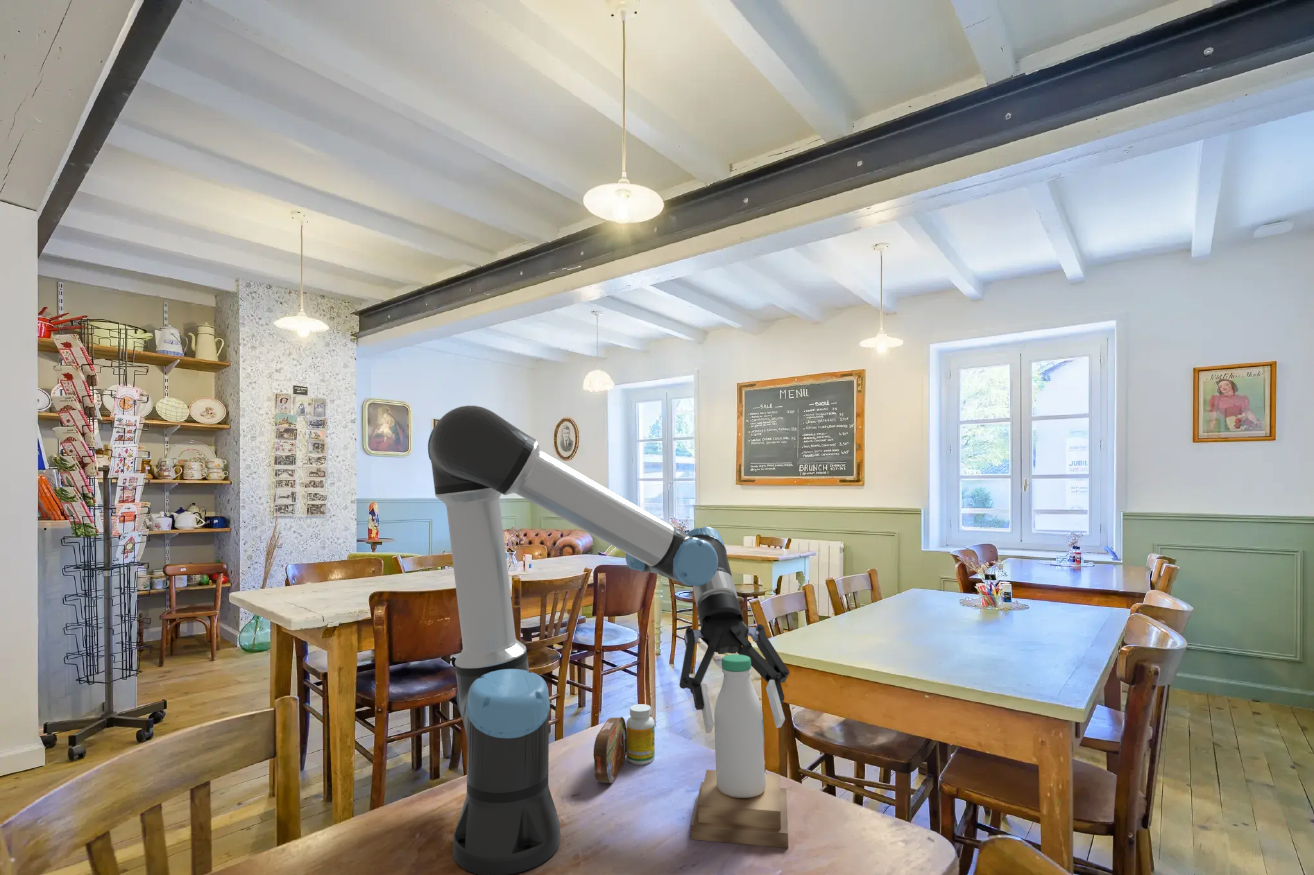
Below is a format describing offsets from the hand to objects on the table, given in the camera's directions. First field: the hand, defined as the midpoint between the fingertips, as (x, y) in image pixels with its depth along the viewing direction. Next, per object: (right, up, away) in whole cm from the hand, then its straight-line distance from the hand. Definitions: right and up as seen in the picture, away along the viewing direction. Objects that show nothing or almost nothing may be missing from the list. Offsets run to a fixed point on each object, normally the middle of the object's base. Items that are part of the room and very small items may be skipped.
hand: (745, 726), depth 100 cm
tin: (-22, -17, +19) cm, 33 cm away
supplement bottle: (-17, -17, +24) cm, 34 cm away
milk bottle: (0, -11, +2) cm, 11 cm away
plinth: (0, -15, +2) cm, 15 cm away
